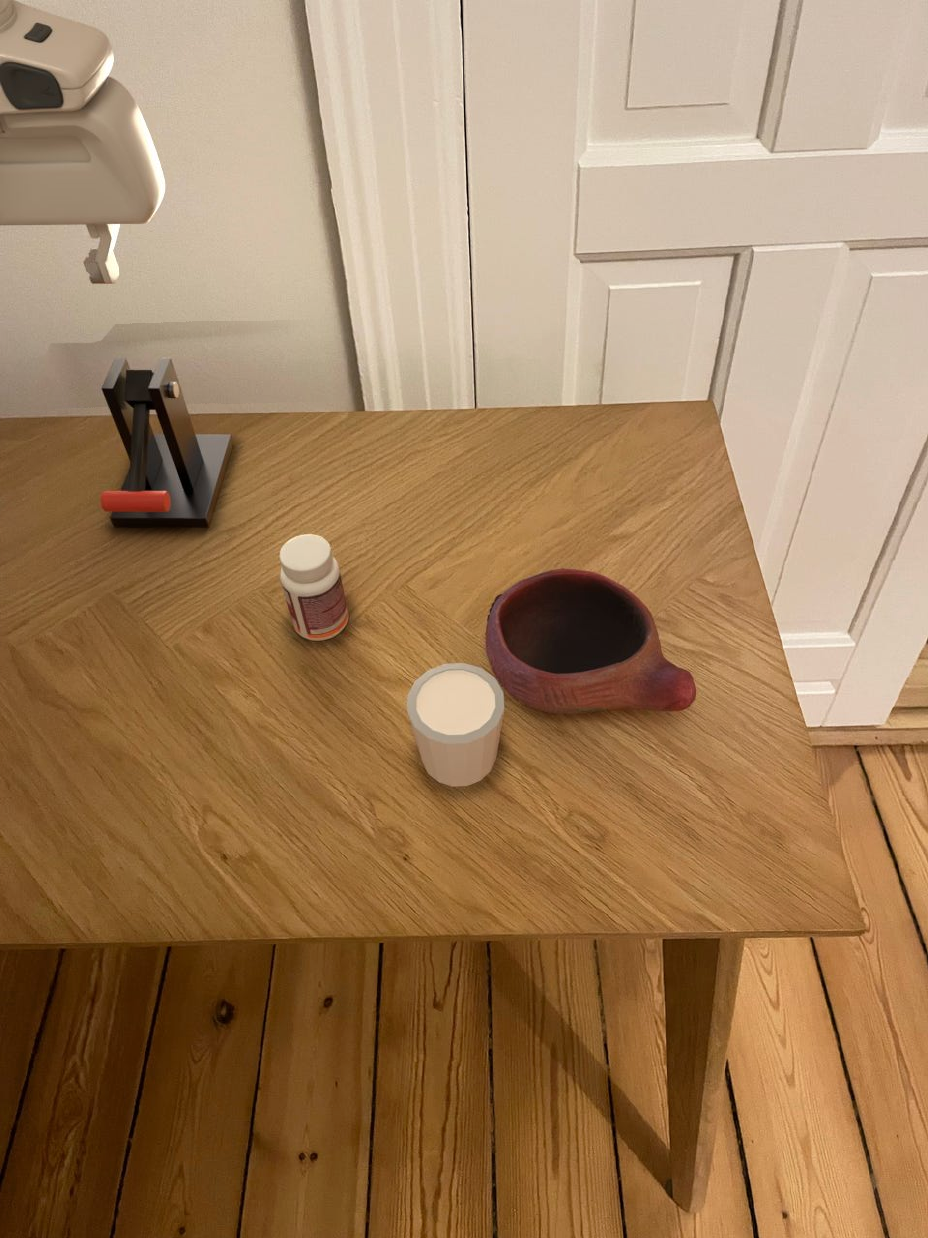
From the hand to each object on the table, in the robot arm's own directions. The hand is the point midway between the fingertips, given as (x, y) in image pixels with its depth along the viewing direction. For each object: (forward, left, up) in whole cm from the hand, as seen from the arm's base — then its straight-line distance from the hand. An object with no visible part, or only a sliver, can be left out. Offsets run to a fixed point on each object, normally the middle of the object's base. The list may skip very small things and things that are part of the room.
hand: (38, 280), depth 64 cm
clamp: (+4, +8, -27) cm, 29 cm away
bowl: (+28, -29, -27) cm, 49 cm away
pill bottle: (+11, -14, -27) cm, 33 cm away
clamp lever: (+3, +5, -20) cm, 21 cm away
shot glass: (+16, -31, -27) cm, 44 cm away
